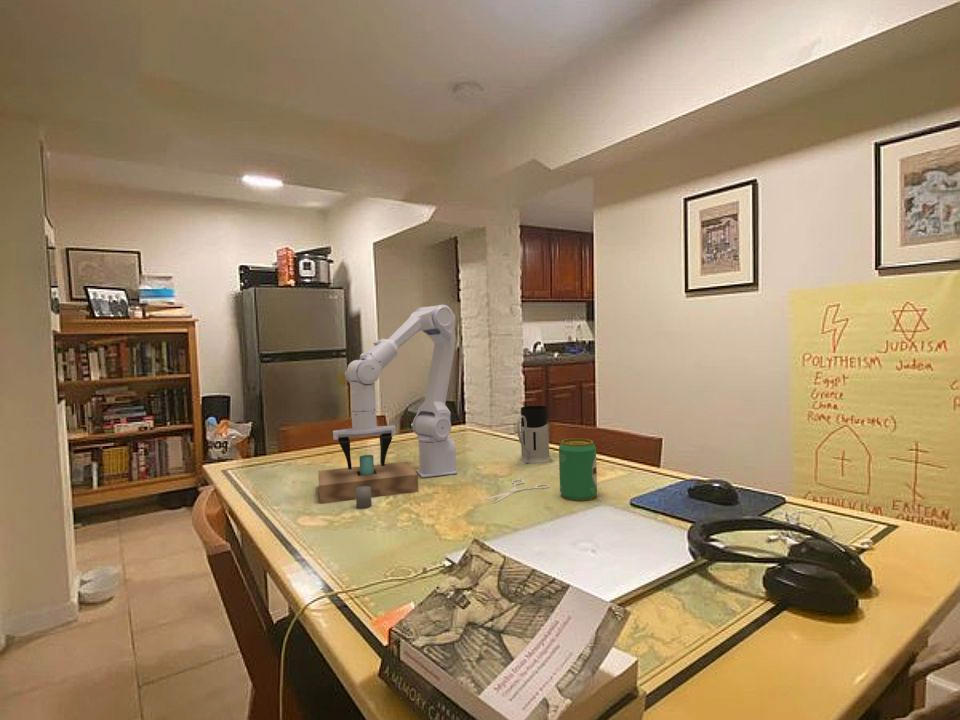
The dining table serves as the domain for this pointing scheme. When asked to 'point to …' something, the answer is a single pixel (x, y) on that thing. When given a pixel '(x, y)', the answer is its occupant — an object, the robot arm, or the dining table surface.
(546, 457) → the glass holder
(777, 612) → the dining table surface
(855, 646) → the dining table surface
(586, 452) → the beverage can
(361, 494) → the charcoal stub
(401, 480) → the walnut hole block
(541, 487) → the scissors
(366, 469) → the teal pin
